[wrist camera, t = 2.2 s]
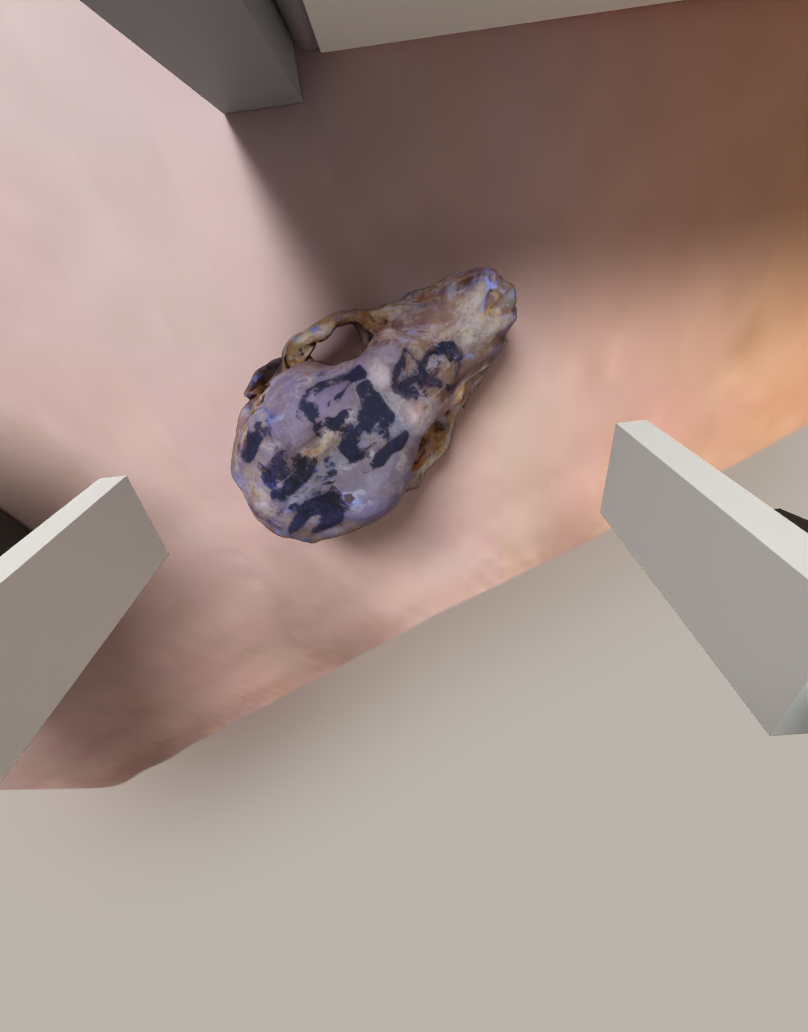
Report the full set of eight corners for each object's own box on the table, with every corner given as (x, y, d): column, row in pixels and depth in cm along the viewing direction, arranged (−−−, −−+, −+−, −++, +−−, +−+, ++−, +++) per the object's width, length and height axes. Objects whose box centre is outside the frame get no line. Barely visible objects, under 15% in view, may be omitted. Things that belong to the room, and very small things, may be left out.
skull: (465, 206, 15) (507, 186, 9) (545, 391, 18) (607, 449, 13) (216, 391, 18) (147, 451, 13) (327, 516, 21) (308, 602, 16)
